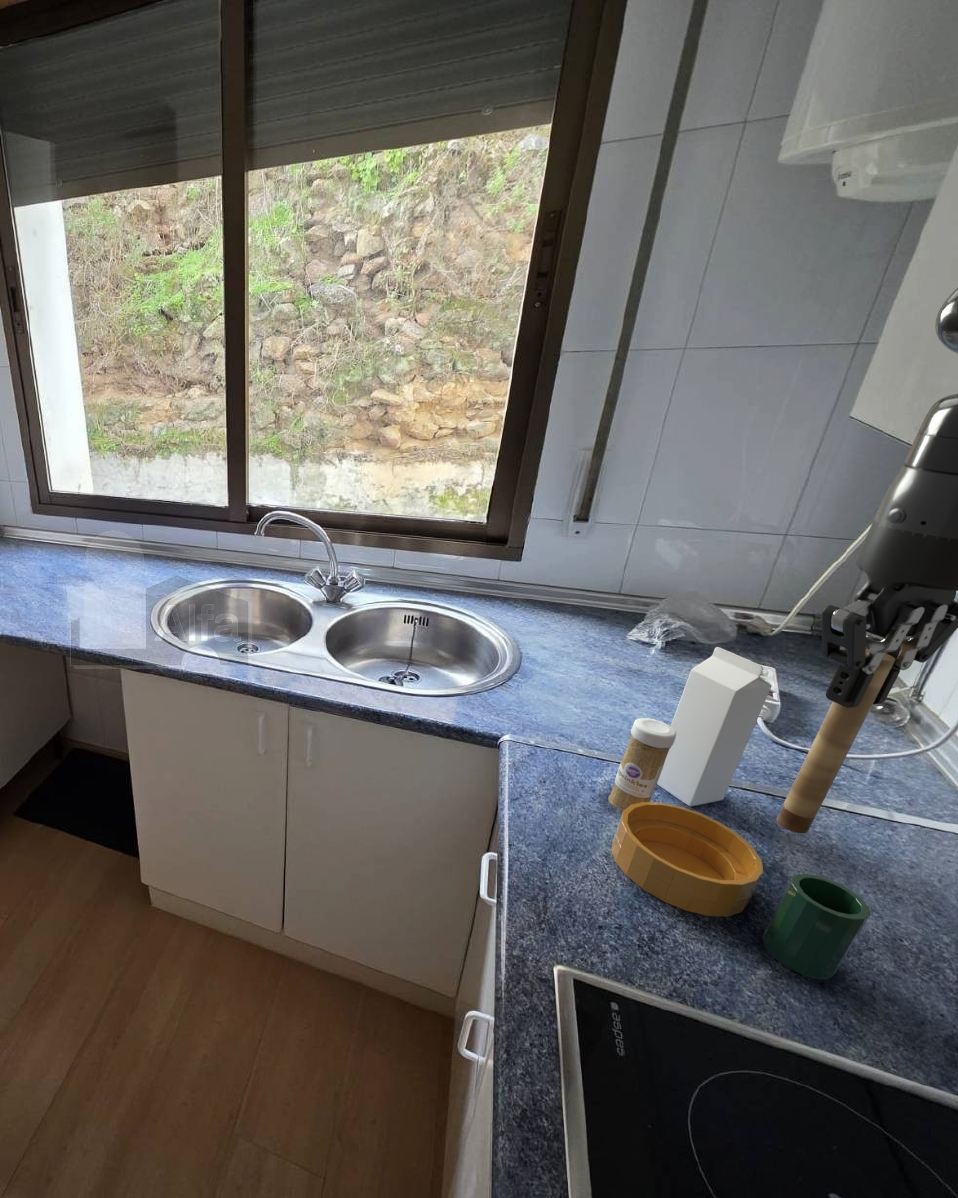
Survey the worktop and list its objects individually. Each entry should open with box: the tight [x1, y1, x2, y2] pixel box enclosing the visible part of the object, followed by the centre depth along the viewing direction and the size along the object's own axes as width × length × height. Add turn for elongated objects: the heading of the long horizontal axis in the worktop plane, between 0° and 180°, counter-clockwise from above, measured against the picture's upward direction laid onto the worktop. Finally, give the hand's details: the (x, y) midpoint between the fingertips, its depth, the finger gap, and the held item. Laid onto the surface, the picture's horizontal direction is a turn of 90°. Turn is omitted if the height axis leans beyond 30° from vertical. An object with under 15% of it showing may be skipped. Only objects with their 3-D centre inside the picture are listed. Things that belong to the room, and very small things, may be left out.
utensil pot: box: [761, 873, 871, 980], centre depth 65 cm, size 6×6×9 cm
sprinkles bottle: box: [607, 717, 676, 812], centre depth 85 cm, size 5×5×13 cm
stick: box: [775, 648, 895, 835], centre depth 61 cm, size 2×2×20 cm
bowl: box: [610, 801, 764, 918], centre depth 76 cm, size 13×13×6 cm
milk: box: [657, 646, 773, 807], centre depth 87 cm, size 6×6×22 cm
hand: (853, 700), depth 59 cm, fingers closed on stick, 2 cm apart
